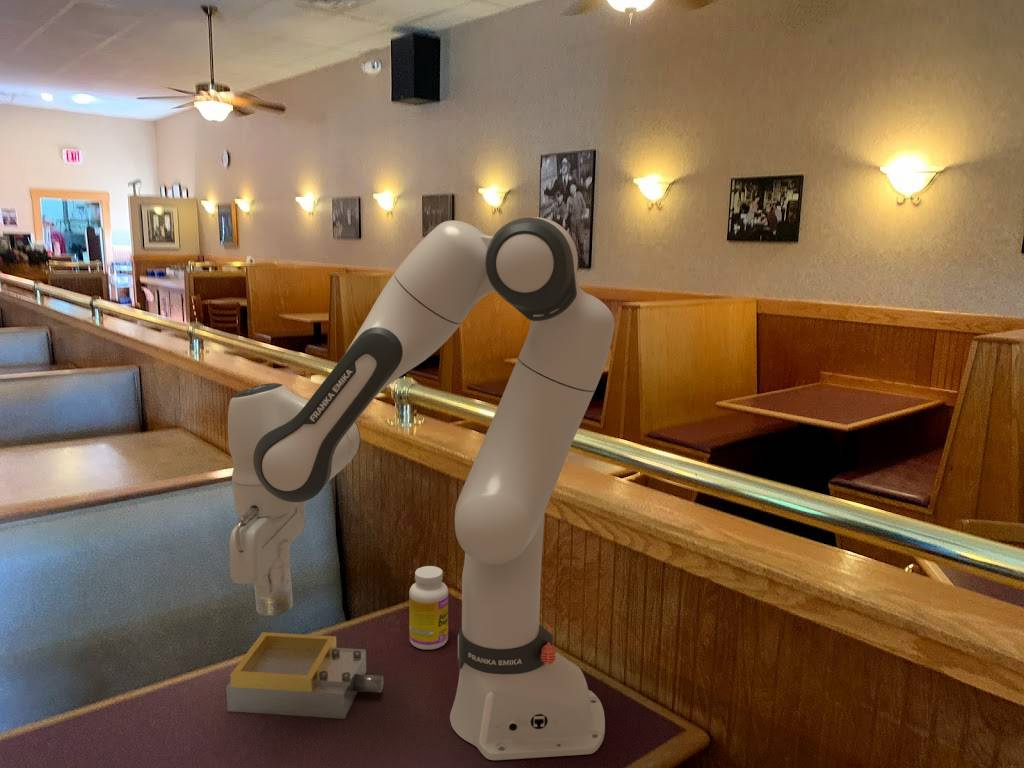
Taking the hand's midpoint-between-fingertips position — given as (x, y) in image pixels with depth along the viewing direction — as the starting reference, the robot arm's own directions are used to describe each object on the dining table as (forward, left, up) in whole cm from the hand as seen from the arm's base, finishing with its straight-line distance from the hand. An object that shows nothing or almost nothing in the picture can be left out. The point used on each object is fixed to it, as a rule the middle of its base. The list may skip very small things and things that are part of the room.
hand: (273, 584), depth 114 cm
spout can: (+1, 0, -4) cm, 4 cm away
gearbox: (-5, -1, -18) cm, 19 cm away
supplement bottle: (-20, -18, -18) cm, 32 cm away
